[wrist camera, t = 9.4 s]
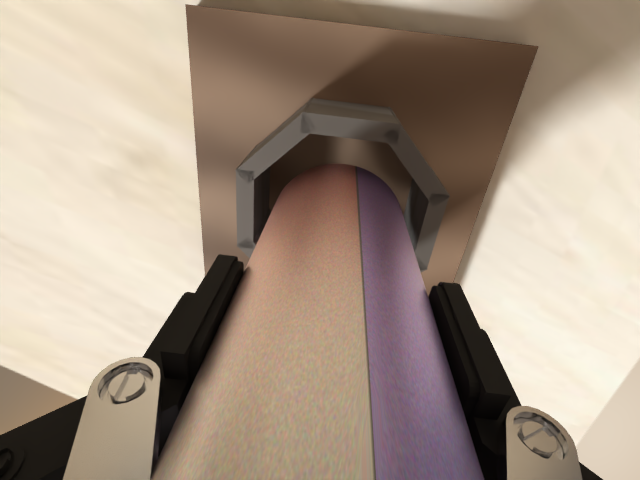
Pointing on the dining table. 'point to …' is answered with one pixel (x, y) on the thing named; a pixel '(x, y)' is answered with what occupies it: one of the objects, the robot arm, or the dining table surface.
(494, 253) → the dining table surface
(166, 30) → the dining table surface
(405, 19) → the dining table surface
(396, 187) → the can holder
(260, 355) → the beverage can
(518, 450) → the robot arm
